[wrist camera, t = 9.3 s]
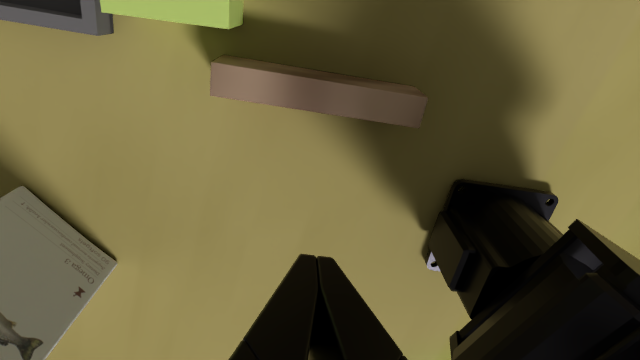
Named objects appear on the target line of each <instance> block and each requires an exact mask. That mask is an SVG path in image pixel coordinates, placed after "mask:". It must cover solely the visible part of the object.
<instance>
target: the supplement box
mask: <svg viewBox="0 0 640 360" xmlns="http://www.w3.org/2000/svg"><path fill="white" fill-rule="evenodd" d="M116 266H117V262H116V261H115V260H113V259H112V258H111V257H109V256H108V255H107V254H105V253H104V252H102V251H101V250H100V249H99V248H97V247H96V246H95V245H94V244H92V243H91V242H90V241H88V240H87V239H86V238H85V237H83V236H82V235H81V234H80V233H78V232H77V231H76V230H75V229H74V228H72V227H71V226H70V225H69V224H68V223H67V222H65V221H64V220H63V219H62V218H60V217H59V216H58V215H57V214H56V213H55V212H53V211H52V210H51V209H50V208H48V207H47V206H46V205H45V204H44V203H43V202H41V201H40V200H39V199H38V198H37V197H36V196H35V195H33V194H32V193H31V192H30V191H29V190H28V189H27V188H25V187H24V186H20V187H18V188H16V189H14V190H12V191H11V192H9V193H7V194H6V195H4V196H3V197H1V198H0V360H45V359H46V358H47V356H48V355H49V354H50V352H51V351H52V350H53V348H54V347H55V346H56V344H57V343H58V342H59V340H60V339H61V338H62V336H63V335H64V334H65V332H66V331H67V330H68V328H69V327H70V326H71V325H72V323H73V322H74V321H75V319H76V318H77V317H78V315H79V314H80V313H81V311H82V310H83V309H84V308H85V306H86V305H87V304H88V302H89V301H90V300H91V298H92V297H93V296H94V294H95V293H96V292H97V290H98V289H99V288H100V286H101V285H102V284H103V282H104V281H105V280H106V279H107V277H108V276H109V275H110V273H111V272H112V271H113V270H114V268H115V267H116Z"/></svg>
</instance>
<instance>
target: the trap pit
mask: <svg viewBox="0 0 640 360" xmlns="http://www.w3.org/2000/svg"><path fill="white" fill-rule="evenodd" d="M0 20H6V21H12V22H18V23H24V24H30V25H36V26H42V27H48V28H54V29H60V30H66V31H72V32H78V33H84V34H90V35H96V36H99V35H106V34H112V33H114V30H113V16H112V14H111V13H103V12H101V5H100V0H0Z"/></svg>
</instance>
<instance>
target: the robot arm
mask: <svg viewBox="0 0 640 360" xmlns="http://www.w3.org/2000/svg"><path fill="white" fill-rule="evenodd" d="M461 186H464V188H463V190H460V191H458V189H459V188H460V187H461ZM548 199H550V200H549V201H548V202H546V201H547V200H548ZM557 203H558V198H557V196H555V195H554V194H553V193H551V192H547V191H540V190H533V189H526V188H519V187H512V186H505V185H498V184H491V183H484V182H477V181H471V180H464V179H460V180H457V181H455V182H454V183H453V185H452V187H451V190H450V193H449V195H448V198H447V201H446V204H445V207H444V209H443V210H442V211H441V212H440V213H439V215H438V218H437V221H436V224H435V227H434V229H433V232H432V235H431V238H430V241H429V243H428V246H429V251H428V254H427V256H426V259H425V263H426V265H427V267H428V268H429V269H430V270H435V271H441V273H442V275H443V277H444V279H445V281H446V283H447V285H448V287H449V288H450V290H451V291H456V292H457V293H458V295H459V297H460V299H461V301H462V303H463V305H464V307H465V309H466V311H467V313H468V315H469V317H470V318H471V319H472V320H471V321H470V322H469V323H468V324H467V325H465V326H464V327H463V328H462V329H461V330H460V331H456V332H455V333H454V334H453V335H452V336H450V349H451V360H640V260H639V259H637V258H636V257H634V256H633V255H631V254H630V253H628V252H627V251H625V250H624V249H622V248H621V247H619V246H618V245H616V244H615V243H613V242H611V241H610V240H608V239H607V238H605V237H604V236H602V235H601V234H599V233H598V232H596V231H595V230H593V229H592V228H590V227H589V226H587V225H586V224H584V223H583V222H581V221H580V220H578V219H576V220H575V221H574V222H573V223H572V224H571V225H570V226H569V227H568V228H569V230H568V231H567V232H566V233H565V234H564V235H563V234H562V233H561V232H560V231H559V230H558V229H557V228H556V227H554V226H553V225H552V224H551V223H550V222H549V219H550V217H551V215H552V213H553V211H554V209H555V207H556V205H557ZM433 261H436V262H435V263H432V262H433ZM229 360H407V358H406V357H405V356H403V353H402V352H401V350H400V349H399V348H398V346H397V345H396V343H395V342H394V341H393V339H392V338H391V337H390V335H389V334H388V333H387V331H386V330H385V328H384V327H383V326H382V324H381V323H380V322H379V320H378V319H377V318H376V316H375V315H374V313H373V312H372V311H371V309H370V308H369V307H368V305H367V304H366V303H365V301H364V300H363V298H362V297H361V296H360V294H359V293H358V292H357V290H356V289H355V288H354V286H353V285H352V283H351V282H350V281H349V279H348V278H347V277H346V275H345V274H344V273H343V271H342V270H341V268H340V267H339V266H338V264H337V263H336V262H335V260H334V259H333V258H331V257H324V256H318V257H317V258H316V257H315V256H314V255H307V254H300V255H299V256H298V258H297V259H296V261H295V262H294V264H293V265H292V267H291V268H290V270H289V271H288V273H287V274H286V276H285V277H284V279H283V280H282V282H281V283H280V285H279V286H278V288H277V289H276V291H275V292H274V294H273V295H272V297H271V298H270V299H269V301H268V302H267V304H266V305H265V307H264V308H263V310H262V311H261V313H260V314H259V316H258V317H257V319H256V320H255V322H254V323H253V325H252V326H251V328H250V329H249V331H248V332H247V334H246V335H245V337H244V338H243V341H241V342H240V344H239V345H238V347H237V348H236V350H235V351H234V353H233V354H232V355H231V357H230V358H229Z"/></svg>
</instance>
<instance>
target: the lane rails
mask: <svg viewBox="0 0 640 360" xmlns="http://www.w3.org/2000/svg"><path fill="white" fill-rule="evenodd" d="M210 96H216V97H222V98H229V99H235V100H241V101H248V102H254V103H261V104H267V105H273V106H280V107H286V108H292V109H299V110H305V111H312V112H318V113H324V114H331V115H337V116H344V117H350V118H356V119H363V120H369V121H376V122H382V123H388V124H395V125H401V126H408V127H414V128H420V124H421V121H422V117H423V114H424V111H425V107H426V104H427V100H428V97H427V96H425V95H424V94H423V93H422V92H421V91H419V90H418V89H417V88H416V87H414V86H408V85H402V84H396V83H390V82H384V81H378V80H372V79H366V78H360V77H354V76H348V75H342V74H336V73H330V72H324V71H318V70H312V69H306V68H300V67H294V66H288V65H282V64H276V63H270V62H264V61H258V60H252V59H246V58H240V57H234V56H228V55H222V56H220V57H219V58H217V59H215V60H214V61H212V62H211V80H210Z"/></svg>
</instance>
